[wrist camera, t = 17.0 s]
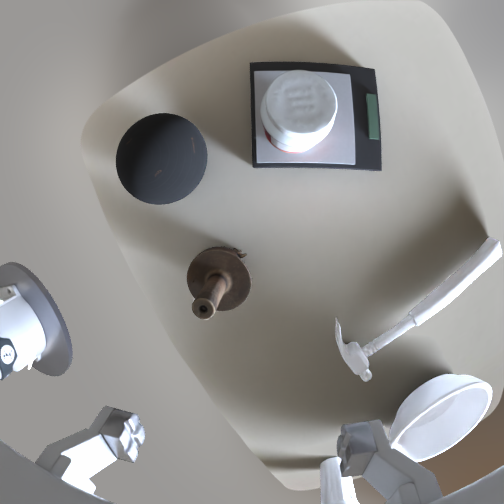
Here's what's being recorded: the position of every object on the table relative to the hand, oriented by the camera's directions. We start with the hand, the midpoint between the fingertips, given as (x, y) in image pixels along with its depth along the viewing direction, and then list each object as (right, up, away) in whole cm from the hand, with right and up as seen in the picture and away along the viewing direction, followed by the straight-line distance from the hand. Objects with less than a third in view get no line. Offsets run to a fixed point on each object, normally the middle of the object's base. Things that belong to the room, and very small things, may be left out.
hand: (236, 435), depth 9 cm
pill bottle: (+5, +21, +19) cm, 29 cm away
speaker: (-9, +18, +24) cm, 31 cm away
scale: (+8, +23, +21) cm, 32 cm away
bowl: (+35, -22, +31) cm, 52 cm away
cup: (+19, -39, +37) cm, 57 cm away
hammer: (+26, +1, +25) cm, 36 cm away
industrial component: (-3, +5, +27) cm, 27 cm away
